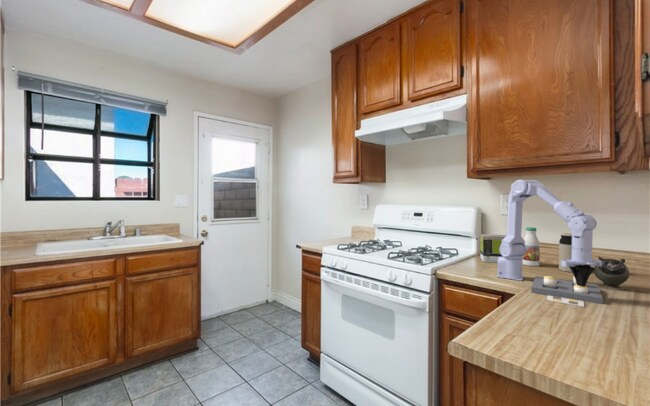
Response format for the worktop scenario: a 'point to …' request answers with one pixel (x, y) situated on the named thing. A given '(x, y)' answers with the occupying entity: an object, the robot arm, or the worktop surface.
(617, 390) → the worktop surface
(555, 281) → the near-left button
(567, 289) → the button board
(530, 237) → the milk bottle
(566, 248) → the travel mug
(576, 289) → the near-right button
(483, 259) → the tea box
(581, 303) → the card
